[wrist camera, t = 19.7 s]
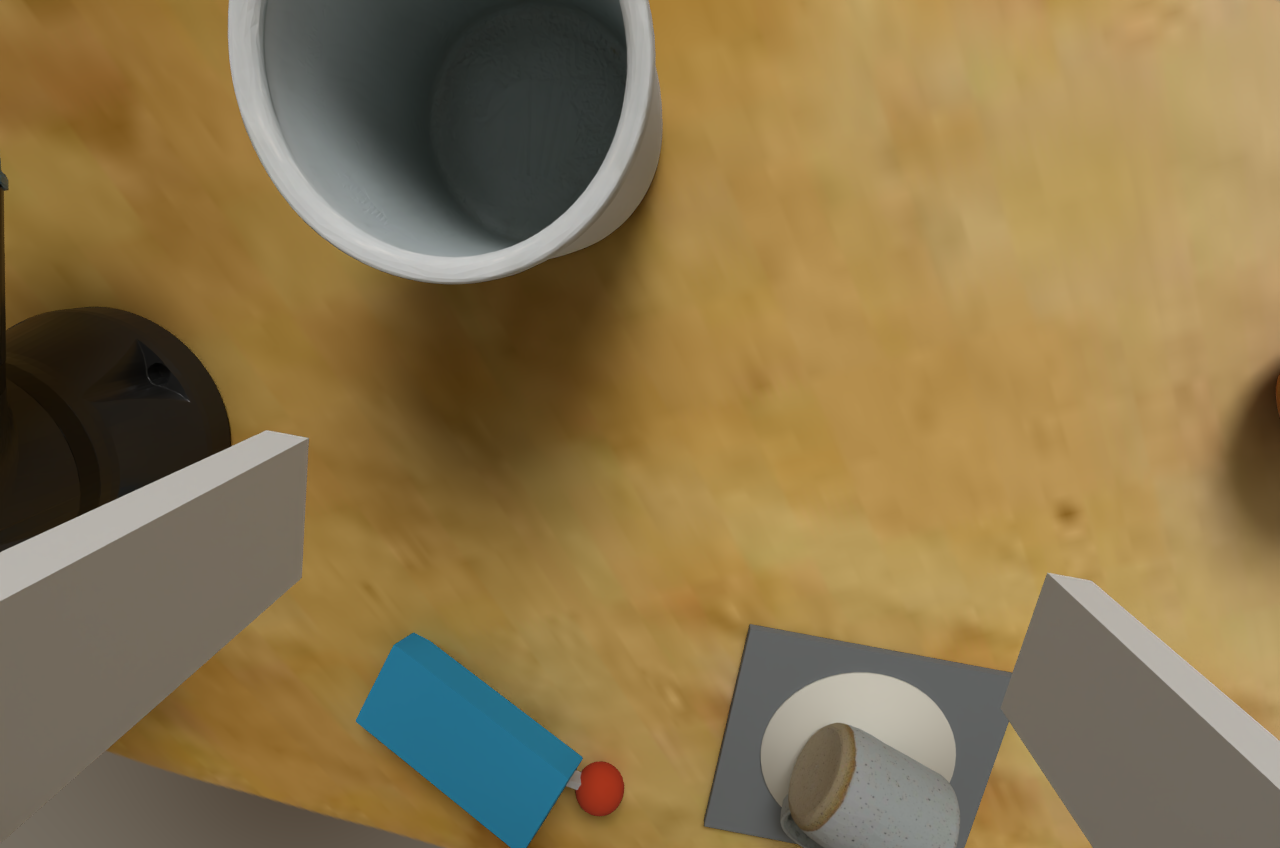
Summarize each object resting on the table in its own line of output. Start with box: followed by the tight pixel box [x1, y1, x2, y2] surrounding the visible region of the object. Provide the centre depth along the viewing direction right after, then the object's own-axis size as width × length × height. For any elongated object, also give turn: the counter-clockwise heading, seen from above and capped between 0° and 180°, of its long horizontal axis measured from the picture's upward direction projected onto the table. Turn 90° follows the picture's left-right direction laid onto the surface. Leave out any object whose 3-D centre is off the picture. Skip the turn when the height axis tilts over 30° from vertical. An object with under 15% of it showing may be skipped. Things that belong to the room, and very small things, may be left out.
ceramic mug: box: [780, 723, 960, 848], centre depth 46 cm, size 11×8×8 cm
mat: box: [704, 624, 1012, 848], centre depth 49 cm, size 18×16×1 cm
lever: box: [356, 633, 624, 848], centre depth 50 cm, size 7×7×18 cm
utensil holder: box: [228, 0, 662, 284], centre depth 33 cm, size 15×15×18 cm
